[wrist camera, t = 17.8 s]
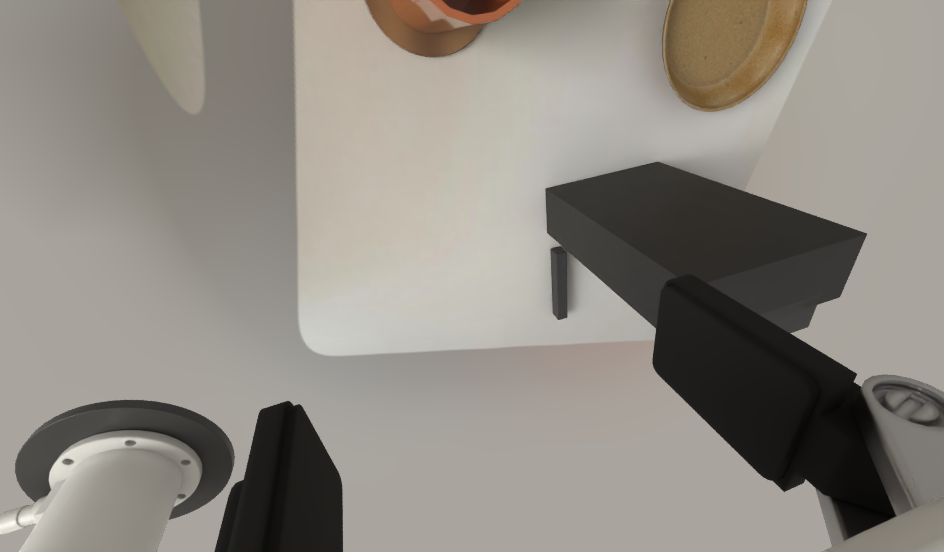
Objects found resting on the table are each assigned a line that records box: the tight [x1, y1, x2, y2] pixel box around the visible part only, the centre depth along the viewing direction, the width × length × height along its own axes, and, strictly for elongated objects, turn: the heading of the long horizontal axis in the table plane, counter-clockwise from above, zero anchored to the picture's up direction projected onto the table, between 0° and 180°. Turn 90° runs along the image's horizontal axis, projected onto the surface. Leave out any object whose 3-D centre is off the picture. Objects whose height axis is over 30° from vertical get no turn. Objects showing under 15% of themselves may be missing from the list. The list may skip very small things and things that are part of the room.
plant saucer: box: [662, 0, 807, 112], centre depth 35 cm, size 15×15×3 cm
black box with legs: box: [546, 162, 867, 333], centre depth 37 cm, size 13×16×20 cm
